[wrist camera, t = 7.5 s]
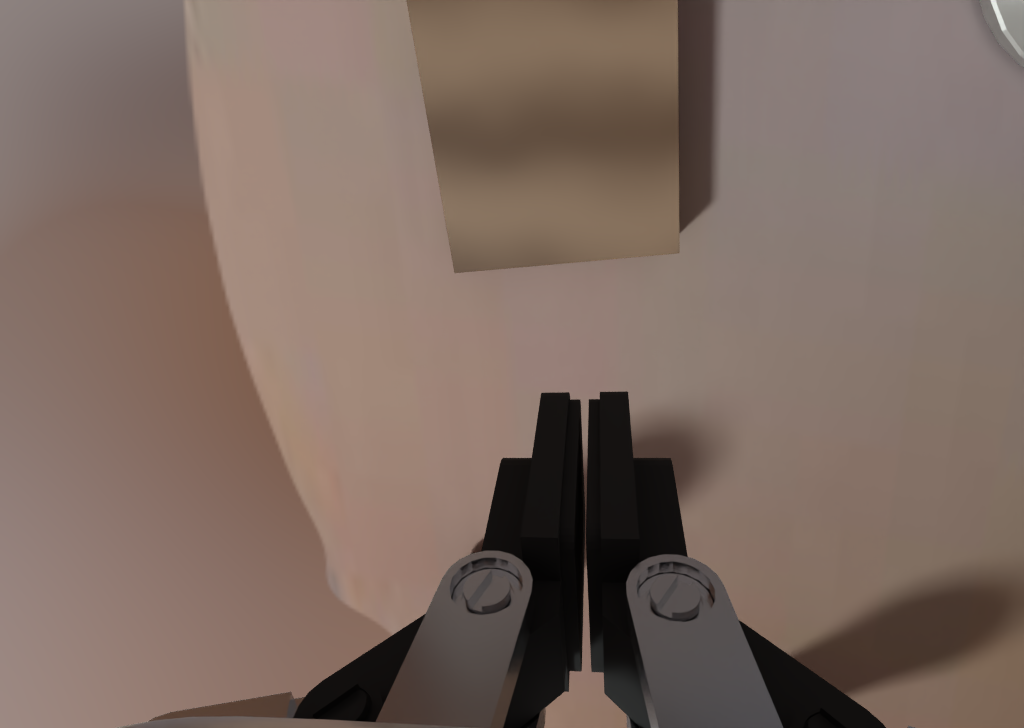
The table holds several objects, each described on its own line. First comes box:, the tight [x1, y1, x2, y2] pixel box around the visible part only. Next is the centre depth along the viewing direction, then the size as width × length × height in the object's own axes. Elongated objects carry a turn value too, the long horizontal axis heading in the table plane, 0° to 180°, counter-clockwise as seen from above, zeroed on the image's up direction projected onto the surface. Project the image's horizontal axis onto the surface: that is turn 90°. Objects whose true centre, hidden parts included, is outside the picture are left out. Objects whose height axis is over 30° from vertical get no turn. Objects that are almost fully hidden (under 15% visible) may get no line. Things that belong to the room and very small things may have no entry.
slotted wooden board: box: [407, 0, 679, 273], centre depth 25 cm, size 20×10×2 cm, turn 8°
